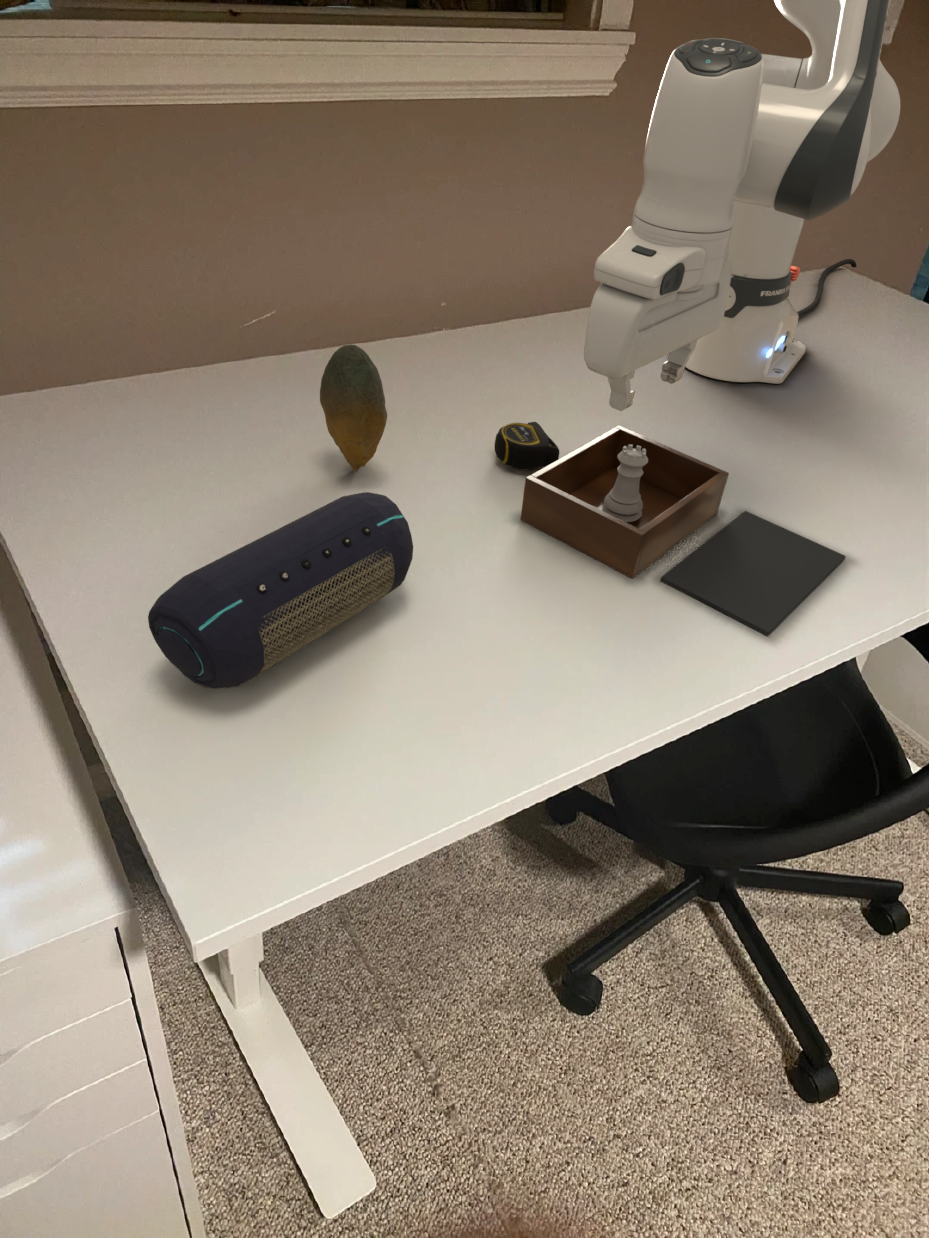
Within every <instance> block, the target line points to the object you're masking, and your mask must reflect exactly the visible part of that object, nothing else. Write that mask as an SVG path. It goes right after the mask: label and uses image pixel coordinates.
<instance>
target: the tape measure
mask: <svg viewBox="0 0 929 1238" xmlns="http://www.w3.org/2000/svg"><path fill="white" fill-rule="evenodd" d="M494 453H495V455H496V457H497V459H498V460H499V461H500V462H502V464H504V465H505V466H507V467H509V468H512V469H516V470H520V471H521V470H522V471H534V470H539V469H542V468H544V467H546V466H548V465H549V464H551V463H553V462H555V461H556V460H558V459H560V449H559V446H558V445H557V444H556V443H555V442H554V440H553V439H552V438H551V437H549V435H548V434H547V433H546V432H545V430H544V428H543V427H542V426H541V425H540V424H539V423H538V422H536V421H530V422H527V423H526V422H525V423H523V422H511V423H508V424H505V425H503V426H502V427H500V428H499V430H498V431H497V433H496V435H495V439H494Z"/></svg>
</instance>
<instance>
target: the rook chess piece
mask: <svg viewBox="0 0 929 1238" xmlns="http://www.w3.org/2000/svg"><path fill="white" fill-rule="evenodd" d="M618 459H619V461H620V463H621V464H620V466H619V467H618V468H617V471H618V477H617V479H616V482H615V485H614V487H613V489H612V490H611V491H610V493H609V494H608V495H607V496H606V497H605V499H604V504H603V506H602V511H604V512H606V513H608V514H610V515H612V516H614V517H616V518H618V519H620V520H622V521H624V522H626V523H628V524H629V523H633V522H635V521H637V520H638V519H639V518H640V517H641V516H642V511H641V510H642V509H643V502H642V500H641V495H640V494H639V483H640V478H641V476H642V475H643V470H642V467H643V466H644V465H646V464H647V463H648V458H647V456H646V450H645V448H644V449H642V451H641V446H638V445H637V446H636V449H634V448H633V445H632V444H631V445H628V448H627V447H626V446H624V447H623V450H622V452H620V453H619V454H618Z"/></svg>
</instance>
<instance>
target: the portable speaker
mask: <svg viewBox="0 0 929 1238" xmlns="http://www.w3.org/2000/svg"><path fill="white" fill-rule="evenodd" d="M413 556H414V543H413V537H412V532H411V529H410V526H409V522H408V521H407V519H406V518H405V516H404V515H403V512H402V511H401V509H400V508H399V507H398V505H397V504H396V503H395V502H394V501H393V500H391V499H390V498H389V497H388V496H387V495H384V494H380V493H375V492H369V491H365V492H359V493H353V494H349V495H344V496H341V497H338V498H336V499H335V500H332V501H331V502H329V503H327V504H324V505H322V506H321V507H318V508H317V509H315V510H312V511H311V512H309V513H307V514H305V515H303V516H301V517H299V518H297V519H295V520H293V521H291V522H288V523H287V524H285V525H283V526H281V527H279V528H277V529H275V530H273V531H271V532H269V533H268V534H265V535H263V536H261V537H259V538H257V539H255V540H253V541H251V542H249V543H247V544H245V545H243V546H242V547H240V548H237V549H235V550H233V551H232V552H229V553H228V554H225V555H224V556H222V557H220V558H217V559H216V560H214V561H212V562H210V563H208V564H205V565H204V566H202V567H199V568H198V569H195V570H194V571H192V572H189V573H188V574H186V575H183V576H182V577H181V578H179V579H178V580H177V581H176V582H175V583H173V585H171V586H170V587H169V588H168V589H167V590H165V591H164V592H163V593H162V594H160V595H159V597H157V599H156V601H155V602H154V603H153V604H152V607H151V608H150V609H149V611H148V615H147V621H148V628H149V630H150V633H151V636H152V638H153V640H154V642H155V644H156V645H157V646H158V648H159V649H160V651H161V652H162V654H163V656H164V657H165V658H166V659H167V660H168V661H169V662H170V663H171V664H172V665H173V666H174V667H175V668H176V669H177V670H178V671H179V672H180V673H181V674H182V675H183V676H185V677H186V678H187V679H188V680H190V681H191V682H193V683H194V684H197V685H199V686H202V687H204V688H207V689H212V690H213V689H225V688H235V687H239V686H241V685H243V684H245V683H246V682H248V681H250V680H252V679H254V678H255V677H257V676H258V675H260V674H262V673H263V672H264V671H266V670H268V669H269V668H271V667H273V666H275V665H276V664H278V663H279V662H281V661H282V660H284V659H286V658H287V657H289V656H291V655H292V654H293V653H295V652H297V651H298V650H300V649H301V648H303V647H305V646H307V645H308V644H310V643H311V642H313V641H314V640H316V639H318V638H319V637H321V636H323V635H324V634H326V633H328V631H330V630H332V629H334V628H336V627H337V626H338V625H340V624H342V623H344V622H345V621H346V620H349V619H350V618H352V617H353V616H355V615H357V614H358V613H359V612H361V611H363V610H364V609H366V608H368V607H369V606H370V605H373V604H374V603H375V602H378V601H379V600H380V599H382V598H385V597H386V596H387V595H389V594H390V593H392V592H393V591H394V590H396V589H397V588H399V587H401V585H402V584H403V583H404V581H405V579H406V577H407V575H408V572H409V569H410V566H411V564H412V561H413Z"/></svg>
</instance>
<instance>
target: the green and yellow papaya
mask: <svg viewBox="0 0 929 1238" xmlns="http://www.w3.org/2000/svg"><path fill="white" fill-rule="evenodd" d="M319 402H320V406H321V408H322V410H323V411H322V412H323V414H324V417H325V418H324V419H325V424H326V429H327V431H328V433H329V436H330V438H332V440H333V441H334V444H335V445H336V446H337V447H338V448H339V452H340V453H341V454H342V456H343V457H344V459H345V460H346V462H347V463H348V464H349V465H350V467H351V469H352V470H353V471H354V472H355V473H356V472H358V470H359V469H360V468H361V467H365V466H366V465H367V464H368V462H370V461H371V460H372V459H373V458H374V455H375V453H376V452H377V450H378V449H377V448H378V446H379V444H380V443H381V439H382V437H383V434H384V431H385V428H386V427H387V426H386V425H387V421H388V411H387V407H386V397H385V393H384V387H383V381H382V378H381V376H380V373H379V370H378V367H377V366H376V365H375V363H374V362H373V360H372V359H371V357H370V356H369V354H368V353H367V352H366V351H365V349H363V348H361V347H360V346H358V345H356V344H344V345H342V346H341V347H339V348H338V349H337V350H335V351H334V353H333V354H332V355H331V357H330V359H329V360H328V362H327V364H326V365H325V367H324V372H323V374H322V376H321V381H320V387H319Z"/></svg>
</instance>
